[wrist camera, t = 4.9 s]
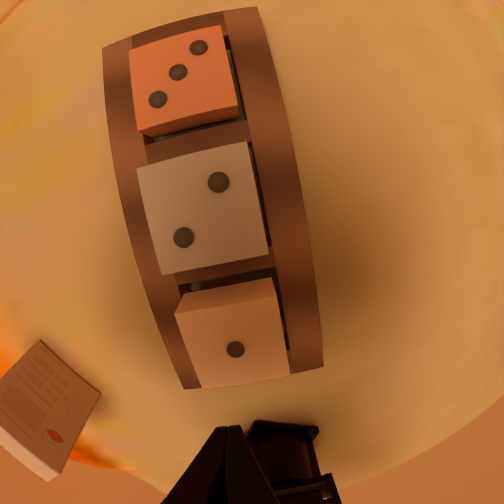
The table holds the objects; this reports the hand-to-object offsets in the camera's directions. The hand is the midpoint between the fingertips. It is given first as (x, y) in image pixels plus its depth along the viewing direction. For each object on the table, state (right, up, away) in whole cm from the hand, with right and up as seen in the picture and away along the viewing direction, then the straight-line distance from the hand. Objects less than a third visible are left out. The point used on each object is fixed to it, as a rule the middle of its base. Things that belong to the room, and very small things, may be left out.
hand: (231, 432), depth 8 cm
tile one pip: (0, +2, +8) cm, 8 cm away
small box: (-18, -6, +12) cm, 23 cm away
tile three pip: (-3, +15, +6) cm, 17 cm away
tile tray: (-2, +9, +9) cm, 13 cm away
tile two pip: (-2, +8, +6) cm, 11 cm away
